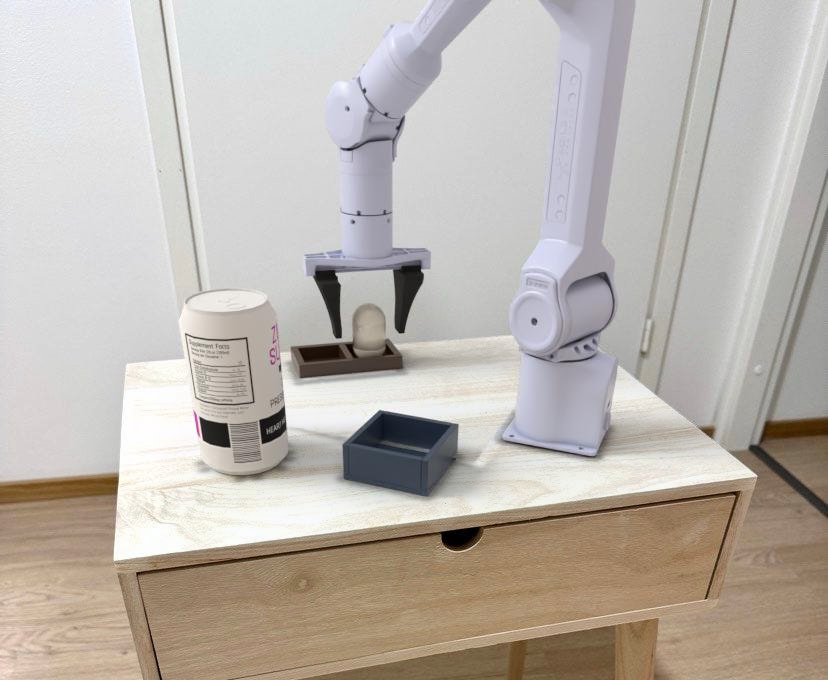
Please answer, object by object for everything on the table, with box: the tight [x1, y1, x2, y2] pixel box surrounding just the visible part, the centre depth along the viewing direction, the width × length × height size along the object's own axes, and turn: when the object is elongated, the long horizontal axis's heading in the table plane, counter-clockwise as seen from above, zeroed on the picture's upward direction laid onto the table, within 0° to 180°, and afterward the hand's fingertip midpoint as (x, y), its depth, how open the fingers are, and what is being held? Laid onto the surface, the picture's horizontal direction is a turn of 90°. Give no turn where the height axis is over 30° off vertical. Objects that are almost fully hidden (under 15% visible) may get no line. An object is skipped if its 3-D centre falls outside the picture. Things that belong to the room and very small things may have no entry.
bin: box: [341, 409, 460, 497], centre depth 70 cm, size 8×8×4 cm
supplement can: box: [178, 287, 289, 476], centre depth 68 cm, size 8×8×15 cm
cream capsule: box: [351, 302, 387, 358], centre depth 90 cm, size 4×4×7 cm
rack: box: [290, 337, 404, 379], centre depth 91 cm, size 7×12×2 cm, turn 106°
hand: (368, 333), depth 90 cm, fingers open, 7 cm apart
